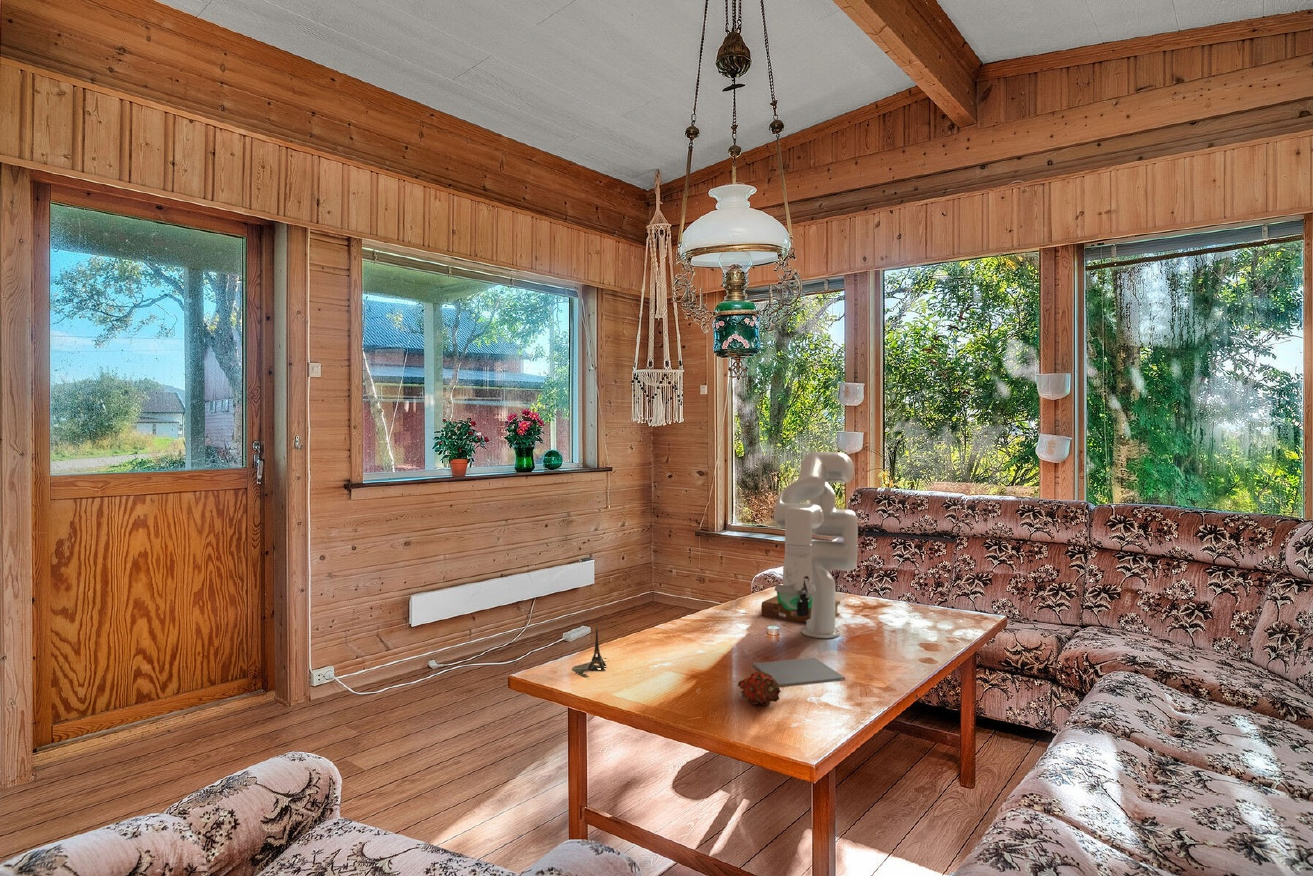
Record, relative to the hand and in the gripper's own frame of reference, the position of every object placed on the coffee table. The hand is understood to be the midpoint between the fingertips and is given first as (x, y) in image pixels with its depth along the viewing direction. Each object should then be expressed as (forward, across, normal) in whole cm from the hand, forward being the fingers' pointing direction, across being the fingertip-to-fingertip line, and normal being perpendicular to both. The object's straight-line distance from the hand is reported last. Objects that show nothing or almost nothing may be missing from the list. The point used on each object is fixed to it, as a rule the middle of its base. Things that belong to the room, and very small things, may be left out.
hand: (798, 612), depth 210 cm
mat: (+17, 0, 0) cm, 17 cm away
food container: (+2, +1, 0) cm, 2 cm away
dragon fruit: (+18, +18, -20) cm, 32 cm away
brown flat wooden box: (+18, -56, +29) cm, 66 cm away
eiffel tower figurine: (+18, -20, -55) cm, 61 cm away
